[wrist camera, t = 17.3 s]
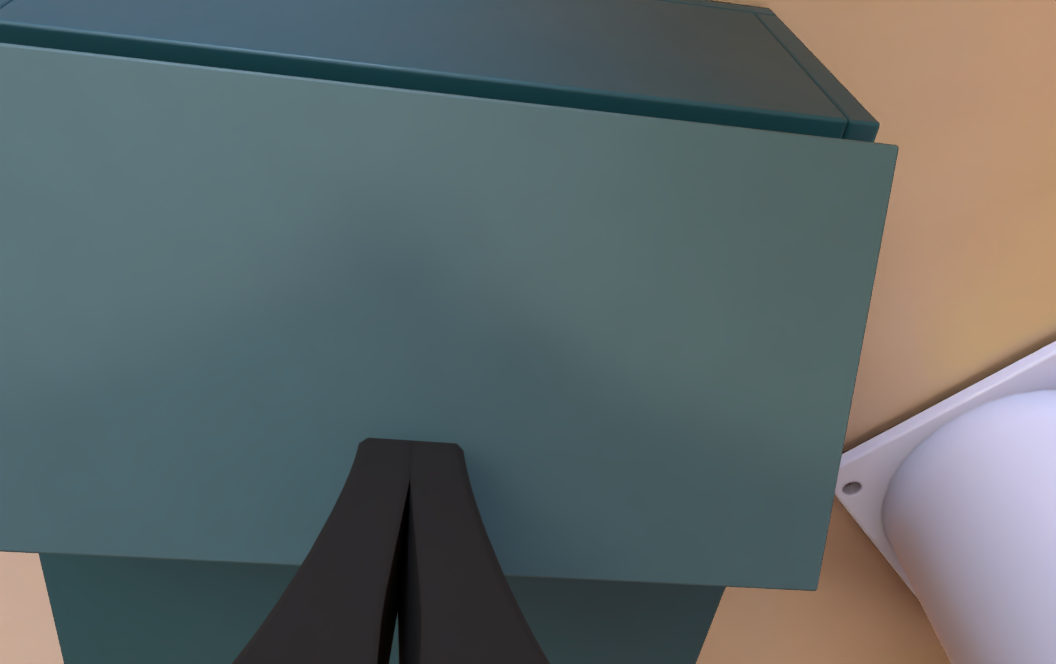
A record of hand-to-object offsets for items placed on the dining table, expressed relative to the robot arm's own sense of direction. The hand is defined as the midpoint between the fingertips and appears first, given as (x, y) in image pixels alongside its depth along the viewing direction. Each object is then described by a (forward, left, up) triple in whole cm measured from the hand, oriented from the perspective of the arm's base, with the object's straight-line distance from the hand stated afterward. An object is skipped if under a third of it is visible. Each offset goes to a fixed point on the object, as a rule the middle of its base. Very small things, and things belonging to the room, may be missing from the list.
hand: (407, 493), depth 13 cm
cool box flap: (+1, -1, -2) cm, 2 cm away
